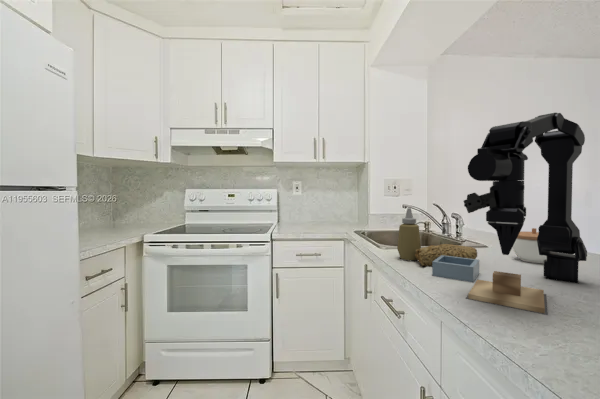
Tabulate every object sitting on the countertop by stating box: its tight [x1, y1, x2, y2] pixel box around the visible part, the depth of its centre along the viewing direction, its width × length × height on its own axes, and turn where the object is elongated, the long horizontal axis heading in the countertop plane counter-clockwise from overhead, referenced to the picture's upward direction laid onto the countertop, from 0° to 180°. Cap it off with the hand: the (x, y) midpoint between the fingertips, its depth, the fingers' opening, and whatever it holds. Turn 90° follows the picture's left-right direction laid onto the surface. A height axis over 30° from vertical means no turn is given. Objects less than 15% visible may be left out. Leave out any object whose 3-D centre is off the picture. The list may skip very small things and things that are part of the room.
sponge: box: [415, 243, 478, 267], centre depth 97 cm, size 13×8×20 cm
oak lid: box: [467, 270, 545, 313], centre depth 66 cm, size 13×13×5 cm
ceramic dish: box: [431, 255, 480, 283], centre depth 83 cm, size 10×10×4 cm
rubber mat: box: [465, 289, 549, 316], centre depth 66 cm, size 14×14×1 cm
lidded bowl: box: [512, 227, 547, 264], centre depth 100 cm, size 13×13×11 cm
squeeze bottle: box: [396, 207, 422, 261], centre depth 104 cm, size 8×8×18 cm
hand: (507, 250), depth 66 cm, fingers open, 9 cm apart
